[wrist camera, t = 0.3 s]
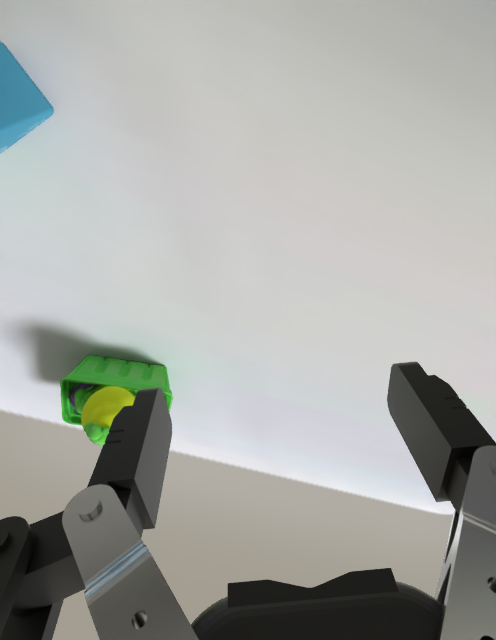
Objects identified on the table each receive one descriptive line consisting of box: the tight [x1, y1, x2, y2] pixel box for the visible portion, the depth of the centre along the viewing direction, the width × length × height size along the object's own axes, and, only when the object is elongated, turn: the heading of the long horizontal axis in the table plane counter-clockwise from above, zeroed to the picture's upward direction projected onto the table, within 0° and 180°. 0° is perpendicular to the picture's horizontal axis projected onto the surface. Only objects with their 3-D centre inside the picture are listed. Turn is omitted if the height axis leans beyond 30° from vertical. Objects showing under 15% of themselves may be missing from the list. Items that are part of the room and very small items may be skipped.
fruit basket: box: [60, 355, 173, 445], centre depth 38 cm, size 11×9×11 cm
